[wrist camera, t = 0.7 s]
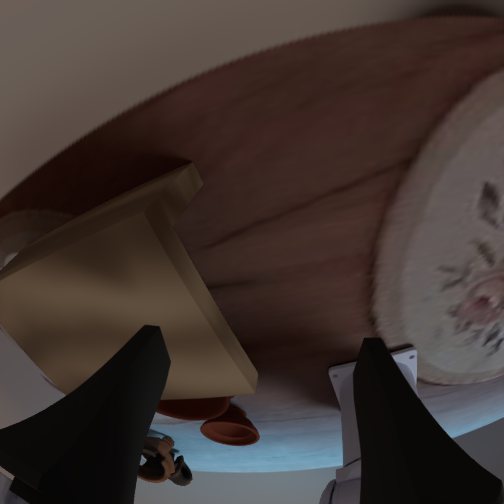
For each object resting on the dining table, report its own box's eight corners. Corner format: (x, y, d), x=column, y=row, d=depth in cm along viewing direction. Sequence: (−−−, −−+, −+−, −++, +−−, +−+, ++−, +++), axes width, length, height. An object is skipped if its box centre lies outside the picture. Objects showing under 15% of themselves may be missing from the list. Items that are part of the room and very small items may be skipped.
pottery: (207, 289, 23) (192, 333, 19) (292, 418, 32) (290, 452, 28) (99, 317, 26) (78, 352, 22) (203, 426, 35) (196, 455, 31)
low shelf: (265, 313, 23) (255, 393, 17) (97, 343, 28) (67, 396, 22) (193, 161, 17) (143, 212, 11) (26, 245, 22) (-22, 292, 17)
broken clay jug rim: (128, 436, 43) (108, 462, 35) (153, 405, 43) (133, 432, 34) (185, 475, 43) (173, 505, 34) (215, 448, 42) (206, 480, 34)
